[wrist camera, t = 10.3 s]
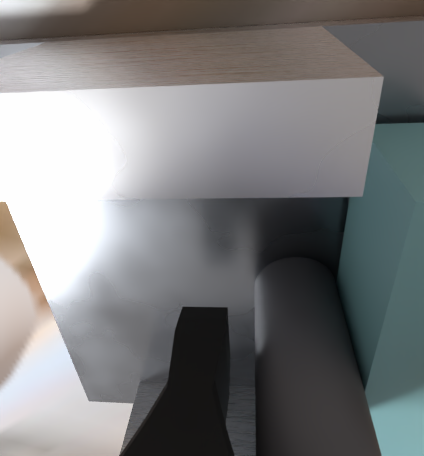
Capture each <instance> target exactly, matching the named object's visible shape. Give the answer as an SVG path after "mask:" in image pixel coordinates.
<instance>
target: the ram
mask: <svg viewBox="0 0 424 456" xmlns="http://www.w3.org/2000/svg"><path fill="white" fill-rule="evenodd" d="M254 305H255V437H256V456H424V123H396V124H375V129H374V135H373V141H372V146H371V152H370V157H369V163H368V169H367V174H366V180H365V186H364V191H363V197H350V198H349V205H348V211H347V217H346V224H345V230H344V236H343V243H342V249H341V256H340V262H339V268H338V275H337V281H336V282H335V279H334V276H333V274H332V273H331V271H330V270H329V269H328V268H327V267H326V266H325V265H323V264H322V263H320V262H318V261H316V260H313V259H310V258H304V257H289V258H283V259H280V260H277V261H275V262H273V263H271V264H269V265H268V266H266V267H265V268H264V269H263V270H262V271H261V272H260V273H259V275H258V276H257V278H256V281H255V286H254Z"/></svg>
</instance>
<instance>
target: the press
mask: <svg viewBox="0 0 424 456" xmlns="http://www.w3.org/2000/svg"><path fill="white" fill-rule="evenodd" d="M396 123H424V16H409V17H392V18H375V19H358V20H341V21H324V22H307V23H290V24H273V25H256V26H239V27H222V28H205V29H188V30H171V31H154V32H137V33H120V34H103V35H86V36H69V37H52V38H35V39H18V40H1V41H0V201H6V202H7V204H8V207H9V209H10V211H11V214H12V216H13V219H14V221H15V223H16V226H17V228H18V231H19V233H20V236H21V238H22V240H23V243H24V245H25V248H26V250H27V253H28V255H29V257H30V260H31V262H32V265H33V267H34V269H35V272H36V274H37V277H38V279H39V282H40V284H41V286H42V289H43V291H44V294H45V296H46V298H47V301H48V303H49V306H50V308H51V311H52V313H53V315H54V318H55V320H56V323H57V325H58V327H59V330H60V332H61V335H62V337H63V340H64V342H65V344H66V347H67V349H68V352H69V354H70V357H71V359H72V361H73V364H74V366H75V369H76V371H77V373H78V376H79V378H80V381H81V383H82V386H83V388H84V390H85V393H86V395H87V398H88V400H89V401H96V402H117V403H134V404H133V408H132V412H131V415H130V419H129V423H128V427H127V430H126V434H125V438H124V441H123V445H122V449H121V452H120V454H121V453H122V451H123V450H124V448H125V447H126V445H127V444H128V443H129V441H130V440H131V438H132V437H133V435H134V434H135V433H136V431H137V430H138V428H139V427H140V425H141V424H142V422H143V420H144V419H145V417H146V416H147V414H148V413H149V411H150V410H151V408H152V406H153V405H154V403H155V401H156V400H157V398H158V396H159V395H160V393H161V391H162V390H163V388H164V386H165V385H166V383H167V381H168V376H169V369H170V361H171V354H172V347H173V340H174V333H175V328H176V325H177V322H178V318H179V316H180V313H181V310H182V307H228V323H229V340H230V358H231V359H230V388H229V402H228V410H227V418H226V428H227V431H228V435H229V438H230V442H231V445H232V448H233V452H234V455H235V456H256V437H255V305H254V286H255V281H256V278H257V276H258V275H259V273H260V272H261V271H262V270H263V269H264V268H265V267H266V266H268V265H269V264H271V263H273V262H275V261H277V260H280V259H283V258H289V257H304V258H310V259H313V260H316V261H318V262H320V263H322V264H323V265H325V266H326V267H327V268H328V269H329V270H330V271H331V273H332V274H333V276H334V279H335V282H336V281H337V275H338V268H339V262H340V256H341V249H342V243H343V236H344V230H345V224H346V217H347V211H348V205H349V198H350V197H363V191H364V186H365V180H366V174H367V169H368V163H369V157H370V152H371V146H372V141H373V135H374V129H375V124H396Z"/></svg>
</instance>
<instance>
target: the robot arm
mask: <svg viewBox="0 0 424 456" xmlns="http://www.w3.org/2000/svg"><path fill="white" fill-rule="evenodd" d="M230 359H231V358H230V340H229V323H228V307H182V310H181V313H180V316H179V318H178V322H177V325H176V328H175V333H174V340H173V347H172V354H171V361H170V369H169V376H168V381H167V383H166V385H165V386H164V388H163V390H162V391H161V393H160V395H159V396H158V398H157V400H156V401H155V403H154V405H153V406H152V408H151V410H150V411H149V413H148V414H147V416H146V417H145V419H144V420H143V422H142V424H141V425H140V427H139V428H138V430H137V431H136V433H135V434H134V435H133V437H132V438H131V440H130V441H129V443H128V444H127V445H126V447H125V448H124V450H123V451H122V453H121V454H120V455H119V456H235V455H234V452H233V448H232V445H231V442H230V438H229V435H228V431H227V428H226V418H227V410H228V402H229V388H230Z"/></svg>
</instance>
